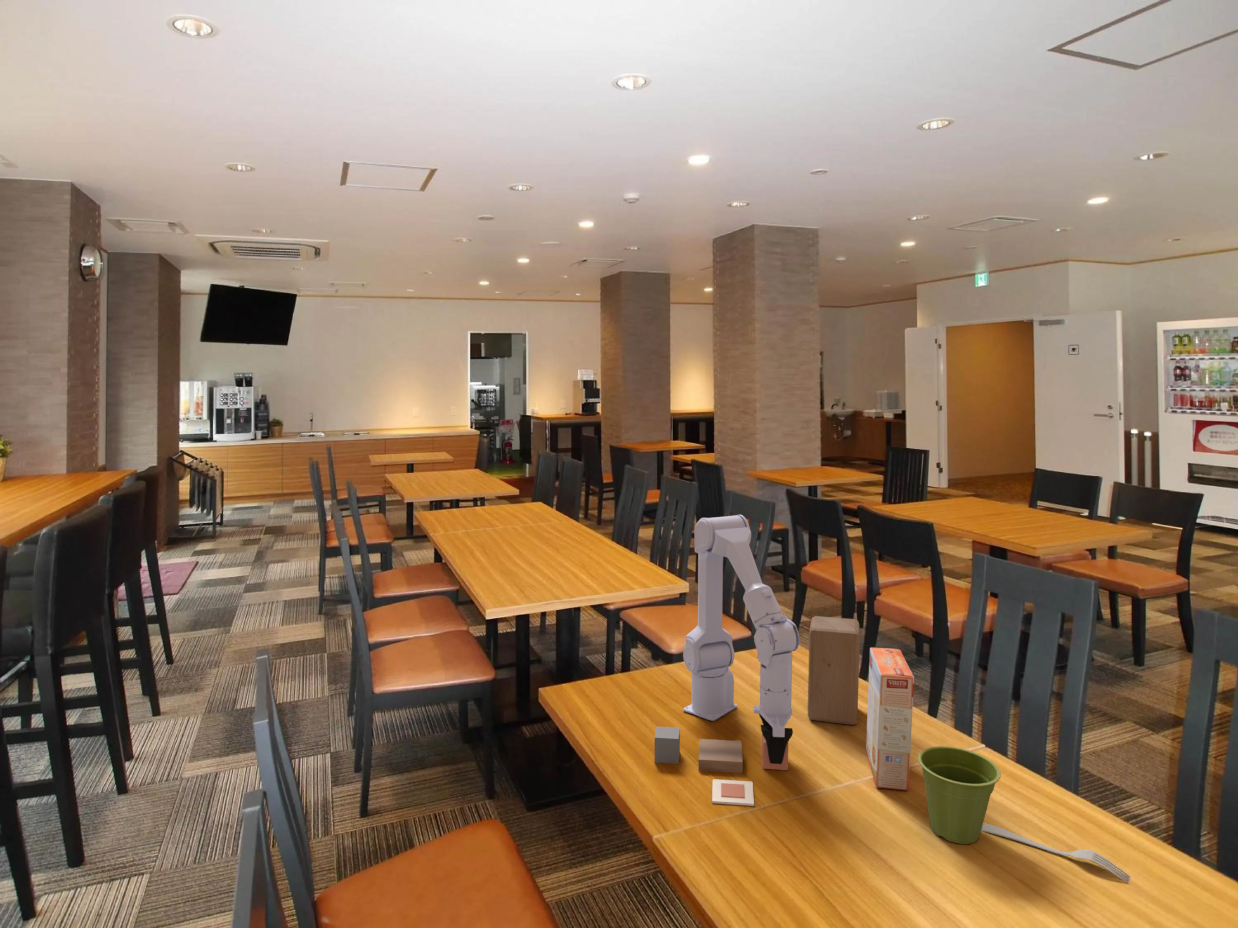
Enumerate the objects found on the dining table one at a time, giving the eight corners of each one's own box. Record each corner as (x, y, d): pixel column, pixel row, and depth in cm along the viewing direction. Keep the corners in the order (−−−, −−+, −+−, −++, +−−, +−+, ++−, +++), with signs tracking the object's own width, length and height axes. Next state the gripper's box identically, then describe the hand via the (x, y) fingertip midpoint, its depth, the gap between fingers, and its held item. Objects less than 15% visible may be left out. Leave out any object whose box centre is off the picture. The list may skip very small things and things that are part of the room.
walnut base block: (699, 750, 146) (699, 738, 146) (741, 753, 145) (741, 740, 145) (698, 772, 138) (698, 759, 138) (742, 774, 137) (742, 761, 137)
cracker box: (911, 792, 130) (915, 676, 128) (874, 788, 131) (878, 674, 129) (898, 752, 144) (901, 647, 141) (865, 750, 145) (868, 645, 142)
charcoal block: (656, 750, 145) (656, 726, 145) (679, 752, 145) (679, 727, 144) (654, 762, 141) (654, 737, 140) (678, 764, 140) (678, 738, 140)
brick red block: (761, 756, 143) (761, 731, 142) (785, 757, 142) (786, 732, 141) (762, 768, 138) (763, 742, 138) (787, 769, 138) (788, 744, 137)
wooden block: (807, 721, 157) (809, 628, 155) (809, 701, 167) (811, 614, 164) (857, 727, 154) (860, 633, 152) (856, 706, 164) (859, 618, 161)
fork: (981, 837, 122) (980, 820, 122) (1136, 879, 108) (1135, 860, 108) (976, 845, 120) (975, 828, 119) (1133, 889, 106) (1132, 870, 106)
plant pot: (950, 861, 112) (953, 789, 110) (899, 816, 123) (902, 751, 122) (1015, 846, 115) (1019, 777, 114) (959, 805, 126) (962, 741, 125)
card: (712, 781, 134) (712, 777, 134) (752, 783, 133) (752, 780, 133) (712, 802, 127) (712, 799, 127) (754, 805, 126) (754, 802, 126)
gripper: (751, 669, 146) (750, 736, 148) (756, 701, 132) (755, 774, 133) (788, 671, 145) (787, 737, 147) (797, 703, 131) (795, 776, 132)
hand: (774, 755), depth 140 cm, fingers closed on brick red block, 4 cm apart
